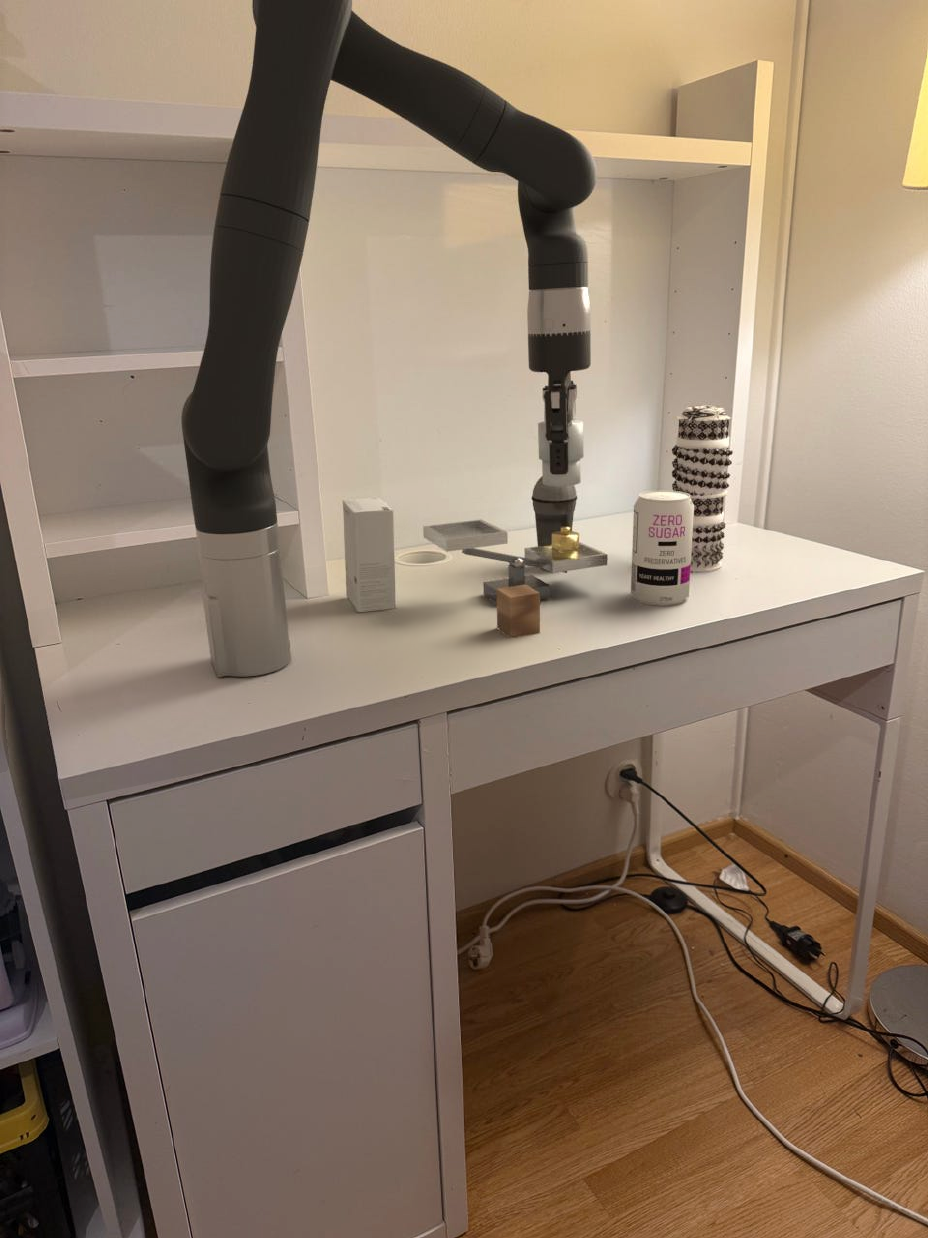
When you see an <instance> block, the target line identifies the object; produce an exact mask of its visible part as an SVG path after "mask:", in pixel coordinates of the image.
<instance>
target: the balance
mask: <svg viewBox="0 0 928 1238" xmlns="http://www.w3.org/2000/svg"><path fill="white" fill-rule="evenodd" d="M422 527H423V528H422V529H423V538H424V539H426V540H427V541H429V542H431V543H432V544H434V545H435V546H437V547H438V548H440V549H442V550H443V551H445V552H453V551H461V554H464V555H465V556H466V555H467V556H471V557H477V558H482V559H488V560H494V561H499V562H506V563H508V564H507V566H508V567H507V568H508V571H507V572H508V574H507V575H508V576H507V578H502V579H497V580H495V579H494V580H490V581H484V582H483V596H484V595H485V596H484V597H485V598H487V597H488V598H487V599H489V600H490V599H491V600H490V601H491V602H493V603H495V604H496V605H497V589H499V588H505V587H512V586H519V585H527V586H529V587H531V588H532V589H534V590H536V591H537V592H539V593H540V601H543V600H551V597H552V596H551V591H552V590H551V586H552V585H551V584H549V583H547V582H545V581H544V580H542V579H540V578H538V577H536V576H534V575H533V574H531V575H526V566H527V567H532V568H538V569H540V568H542V569H546V570H547V571H546V572H548V571H549V572H548V573H551V574H557V573H565V574H567V573H568V572H570V571H578V570H584V569H590V568H595V567H603V566H608V559H609V558H608V557H609V556H608V554H607V553H605V552H603V551H601V550H598V549H596V548H593V547H591V546H589V545H588V544H585V543H582V542H580V533H579V532H577V531H573V530H572V531H570V527H568V526H563V527H561V531H557V532H554V533H552V544H551V545H544V546H538V545H536V546H530V547H524V556H523V557H522V556H517V555H512V554H506V553H501V552H495V551H490V550H485V549H479V548H483V547H485V548H486V547H491V546H499V545H508V539H509V538H508V532H507V531H506V530H503V529H502V528H499V527H497V526H495V524H494V525H493V524H492V523H490V522H487V521H485V520H483V519H480V518H479V519H474V520H473V519H472V520H465V521H457V522H456V521H455V522H448V523H447V522H446V523H440V524H431V525H423V526H422Z"/></svg>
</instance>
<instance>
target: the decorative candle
mask: <svg viewBox="0 0 928 1238" xmlns="http://www.w3.org/2000/svg"><path fill="white" fill-rule="evenodd" d="M676 418H677V419H678V430H677V431H678V432H677V433H678V434H677V437H676V444H675V445H674V447H672V448H671V454H672V455H673V456H675V457H674V459H673V460H672V461H671V465H672V468H674V469H672V471H671V476H672V478H674V479H675V480H674V481H673V483H671V487H672V491H679V492H684V493H688V494H689V495H690V498H691V500H692V502H693V504H694V518H693V535H692V551H691V568H690V573H691V572H692V573H705V572H714V571H718V570H720V569H721V568H722V567H723V563H722V561H721V560H723V559H724V552H723V550H724V548H725V543H724V542H723V541H722V539H724V538H725V532H724V531H722V530H724V529H725V528H726V523H725V522H724V517H725V511H724V502H725V501H724V499H725V497H726V496H728V490H727V489H728V488H729V487H730V484H729V483H728V482H727V481H725V480H728V479H729V478H730V477H731V473H729V472H727V471H726V468H727V467H729V466H730V465H732V464H733V463H732V460H730V458H727V457H730V456H731V455H733V453H734V451H733V450H732V449H730V448H729V446H730V445H729V444H730V436H729V429H730V428H729V427H730V419H732V416H731V415H730V416H729V415H728V413H727V411H726V410H725V408H724V407H722V406H720V405H693V406H687V407H686V408H685V409H684V410H683V412H682V414H681V415H679V416H678V415H677V416H676Z"/></svg>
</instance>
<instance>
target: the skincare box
mask: <svg viewBox="0 0 928 1238" xmlns="http://www.w3.org/2000/svg"><path fill="white" fill-rule="evenodd" d="M342 510H343V512H342V513H343V515H342V516H343V533H344V534H343V538H344V563H345V586H346V587H345V589H346V593H345V594H346V598H347V599H348V600H349V601H350V602H351V603H352V605H353V607H354V609H355V610H356V612H357V613H368V612H375V611H376V612H377V611H385V610H386V611H387V610H394V609H396V608H397V607H396V606H397V604H396V569H395V568H396V562H395V560H396V559H395V557H396V556H395V521H394V520H395V518H394V517H395V516H394V515H395V513H394V510H393V509H392V507H390V506H389V504H388V502H386V501H383V500H382V499H381V498H380V497H369V498H367V497H366V498H351V499H349V498H348V499H343V500H342Z"/></svg>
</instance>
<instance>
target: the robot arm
mask: <svg viewBox="0 0 928 1238" xmlns="http://www.w3.org/2000/svg"><path fill="white" fill-rule="evenodd" d="M251 8H252V16H253V21H254V25H255V37H254V46H253V47H254V49H253V56H252V57H253V58H252V59H253V60H252V67H251V73H250V80H249V85H248V90H247V95H246V97H245V98H246V99H245V102H244V105H243V108H242V111H241V115H240V118H239V121H238V125H237V128H236V131H235V134H234V137H233V141H232V144H231V148H230V150H229V154H228V158H227V162H226V166H225V170H224V175H223V178H222V183H221V186H220V193H219V197H218V203H217V209H216V216H215V223H214V228H213V233H212V234H213V235H212V241H211V243H212V244H211V256H210V266H209V267H210V269H209V313H208V315H209V316H208V326H207V332H206V334H207V335H206V339H205V344H204V348H203V353H202V356H201V361H200V364H199V369H198V372H197V376H196V379H195V383H194V386H193V389H192V392H191V393H190V394H189V395H188V397H187V398H186V400H185V401H184V404H183V407H182V410H181V416H180V417H181V419H180V420H181V433H182V439H183V446H184V453H185V460H186V468H187V476H188V483H189V490H190V491H189V492H190V499H191V505H192V506H191V507H192V513H193V514H192V515H193V520H194V525H195V534H196V542H197V549H198V557H199V566H200V573H201V579H202V587H201V595H202V602H203V611H204V617H205V625H206V626H205V627H206V632H207V633H206V634H207V639H208V640H207V641H208V648H209V656H210V661H211V665H212V667H213V670H214V672H215V675H216V676H217V678H222V677H243V678H244V677H255V676H256V677H257V676H261V675H263V676H264V675H266V674H270V673H273V672H276V671H279V670H281V669H282V668H284V667H286V666H287V665H288V664H289V663H291V659H292V656H291V655H292V654H291V641H290V635H289V624H288V615H287V614H288V613H287V605H286V603H287V602H286V595H285V585H284V584H285V583H284V575H283V574H284V573H283V563H282V557H281V556H282V555H281V545H280V536H279V525H278V513H277V504H276V499H275V494H274V488H273V482H272V478H271V477H272V475H271V470H270V469H271V468H270V459H269V450H268V449H269V448H268V443H269V441H270V436H271V426H272V425H271V422H272V410H273V409H272V408H273V394H274V384H275V376H276V365H277V357H278V353H279V347H280V342H281V338H282V335H283V331H284V328H285V324H286V321H287V318H288V314H289V311H290V307H291V305H292V300H293V298H294V297H293V296H294V292H295V289H296V285H297V280H298V277H299V273H300V268H301V263H302V259H303V256H304V250H305V245H306V240H307V234H308V229H309V224H310V221H311V220H310V219H311V213H312V212H311V211H312V205H313V198H314V193H315V192H314V191H315V185H316V179H317V169H318V160H319V150H320V149H319V148H320V140H321V139H320V138H321V129H322V128H321V127H322V122H323V121H322V120H323V114H324V111H325V109H324V108H325V104H326V100H327V95H328V90H329V87H330V84H331V81H332V82H334V83H336V84H339V85H342V86H343V87H346V88H347V89H350V90H351V91H353V92H355V93H357V94H360V95H361V96H363V97H366V98H367V99H369V100H371V101H373V102H374V103H376V104H378V105H380V106H381V107H384V108H385V109H386V110H388V111H391V112H393V113H394V114H395V115H398V117H401V118H402V119H404V120H406V122H407V121H408V122H409V123H410V124H412V125H413V126H415V127H416V128H419V129H420V130H422V131H423V132H424V133H426V134H428V136H431V137H432V138H434V139H435V140H437V141H439V142H440V143H442V144H443V145H445V146H446V147H447V148H449V149H450V150H452V151H453V152H455V153H456V154H458V155H459V156H460V157H462V158H464V159H466V160H467V161H469V162H470V163H472V164H473V165H475V166H477V167H478V168H480V169H482V170H485V171H487V172H490V173H500V174H504V175H508V176H509V177H511V178H513V179H514V180H516V181H517V201H518V209H519V210H518V211H519V215H520V219H521V224H522V229H523V230H522V231H523V235H524V239H525V240H524V241H525V243H526V245H527V246H526V247H527V267H528V268H527V273H528V277H527V279H528V298H527V299H528V300H527V308H526V309H527V310H526V317H527V318H526V319H527V324H526V325H527V352H528V356H527V357H528V369H529V371H531V372H533V373H545V374H547V377H548V382H547V383H548V384H547V385H544V387H543V388H542V400H543V403H544V405H543V406H544V409H543V410H544V413H543V415H544V417H543V422H544V421H545V424H546V438H547V441H548V444H550V472H551V474H553V475H560V474H567V472H568V443H569V440H570V436H569V425H572V423H573V420H576V415H577V409H576V399H577V398H578V397H577V395H578V384H575V383H574V380H572V377H571V372H578V371H583V370H587V369H589V368H590V366H591V364H592V363H591V362H592V361H591V354H592V353H591V351H592V350H591V346H592V345H591V341H592V340H591V303H590V302H591V301H590V297H589V296H590V295H589V288H588V287H589V255H588V245H587V243H586V242H587V241H586V240H585V238H584V237H582V236H581V235H580V234H578V233H577V229H576V227H577V226H576V220H575V211H574V208H575V207H577V206H579V205H581V204H582V203H583V202H585V201H586V200H587V199H588V198H589V197H590V196H591V194H592V192H593V190H594V189H595V187H596V184H597V178H598V169H597V164H596V161H595V159H594V156H593V154H592V152H591V151H590V149H588V147H587V146H586V145H585V144H584V143H583V142H582V141H581V140H579V139H578V138H577V137H575V136H574V135H573V134H571V133H569V132H567V131H566V130H563V129H561V127H558V126H555V125H553V124H552V123H549V122H547V121H545V120H543V119H540V118H538V117H536V116H534V115H530V114H528V113H526V112H524V111H521V110H519V109H518V108H516V107H515V106H514V105H512V104H511V103H510V102H509V101H508V100H506V99H504V98H503V97H501V96H500V95H499V94H497V93H496V92H494V91H493V90H492V89H491V88H489V87H487V86H486V85H485V84H483V83H481V82H480V81H478V80H477V79H476V78H474V77H473V76H471V75H469V74H467V73H465V72H464V71H462V70H460V69H458V68H456V67H454V66H452V65H449V64H447V63H445V62H443V61H441V60H438V59H435V58H432V57H430V56H427V55H425V54H422V53H420V52H417V51H415V50H412V49H410V48H408V47H406V46H405V45H402V44H399V43H398V42H396V41H394V40H392V39H391V38H389V37H387V36H385V35H384V34H383V33H381V32H379V31H378V30H376V29H375V27H372V25H370V24H369V23H367V22H366V21H364V20H363V19H362V18H361V17H360V16H359V15H358V14H356V13H355V11H353V10H352V9H353V0H252V7H251ZM554 425H563V430H553V426H554Z"/></svg>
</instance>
